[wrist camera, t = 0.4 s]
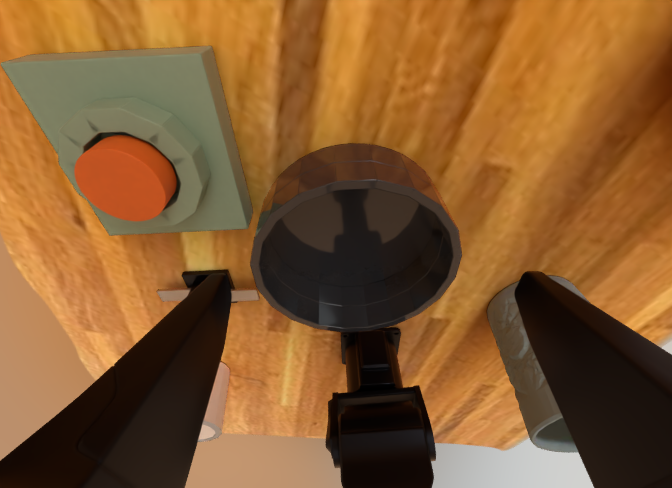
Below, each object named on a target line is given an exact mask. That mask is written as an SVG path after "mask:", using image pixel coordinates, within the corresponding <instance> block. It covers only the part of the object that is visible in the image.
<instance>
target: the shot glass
mask: <svg viewBox="0 0 672 488" xmlns="http://www.w3.org/2000/svg"><path fill="white" fill-rule="evenodd" d="M229 377H230V369H229V368H228V367H227V366H226V364H224V363H222V362H220V364H219V367H218V371H217V375H216V378H215V382H214V385H213V389H212V392H211V396H210V399H209V403H208V407H207V410H206V414H205V417H204V421H203V424H202V428H201V431H200V435H199V439H198V442H204V441H211V440H213V439H216V438H218V437H219V436H220V435H221V434H222V429H223V421H224V414H225V406H226V399H227V392H228V384H229Z"/></svg>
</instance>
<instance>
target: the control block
mask: <svg viewBox="0 0 672 488" xmlns="http://www.w3.org/2000/svg"><path fill="white" fill-rule="evenodd" d="M1 66H2V68H3V69H4V71H5V72H6V74H7V75H8V77H9V79H10V80H11V82H12V83H13V85H14V86H15V88H16V90H17V91H18V93H19V94H20V96H21V97H22V99H23V101H24V102H25V104H26V105H27V107H28V108H29V110H30V112H31V113H32V115H33V116H34V118H35V119H36V121H37V122H38V124H39V126H40V127H41V129H42V130H43V132H44V133H45V135H46V137H47V138H48V140H49V141H50V143H51V144H52V146H53V148H54V149H55V151H56V152H57V154H58V157H59V165H60V166H61V168H62V169H63V171H64V173H65V174H66V176H67V177H68V179H69V180H70V182H71V183H72V185H73V186H74V188H75V190H76V191H77V193H78V194H79V195H81V196H82V197H83V198H85V199H86V200H87V201H88V202H89V204H90V206H91V207H92V209H93V210H94V212H95V213H96V215H97V217H98V218H99V220H100V221H101V223H102V224H103V226H104V228H105V229H106V231H107V232H108V234H109V235H132V234H152V233H173V232H194V231H215V230H236V229H248V227H249V224H250V221H251V217H252V214H253V209H252V205H251V201H250V197H249V193H248V189H247V185H246V181H245V177H244V173H243V169H242V165H241V161H240V157H239V153H238V149H237V145H236V141H235V137H234V133H233V129H232V124H231V120H230V116H229V112H228V108H227V104H226V100H225V96H224V92H223V88H222V84H221V80H220V76H219V72H218V68H217V64H216V60H215V56H214V52H213V48H212V46H197V47H176V48H156V49H135V50H115V51H94V52H74V53H53V54H33V55H27V56H24V57H20V58H16V59H13V60H9V61H6V62H2V63H1ZM114 135H126V136H131V137H135V138H138V139H141V140H143V141H145V142H147V143H149V144H151V145H152V146H154V147H155V148H156V149H158V150H159V151H160V152H161V153H162V154H163V155H164V156H165V157H166V158H167V159H168V161H169V162H170V164H171V165H172V167H173V169H174V172H175V175H176V180H177V185H176V190H175V192H174V194H173V196H172V197H171V199H170V200H169V202H168V203H167V205H166V206H165V208H164V209H163V211H162V212H161V213H160V214H159V215H158V216H156V217H154V218H152V219H150V220H146V221H128V220H123V219H120V218H117V217H114V216H111V215H109V214H107V213H105V212H104V211H102V210H100V209H99V208H97V207H96V206H95V205H94V204H92V203H91V202H90V201H89V200H88V199H87V198H86V197H85V196H84V194H83V193H82V192H81V190H80V188H79V187H78V185H77V182H76V179H75V174H74V169H75V164H76V161H77V160H78V158H79V157H80V156H81V155H82V154H83V153H85V152H86V151H87V150H89V149H90V148H91V147H93V146H94V145H95V144H97V143H98V142H99V141H101V140H102V139H104V138H106V137H109V136H114Z"/></svg>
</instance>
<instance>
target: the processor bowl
mask: <svg viewBox="0 0 672 488" xmlns="http://www.w3.org/2000/svg"><path fill="white" fill-rule="evenodd" d="M461 257H462V250H461V243H460V237H459V230H458V228H457V226H456V224H455V222H454V220H453V218H452V216H451V215H450V213H449V211H448V209H447V207H446V205H445V203H444V201H443V199H442V197H441V196H440V194H439V192H438V190H437V189H436V187H435V186H434V184H433V183H432V181H431V179H430V178H429V176H428V175H427V174H426V172H425V171H424V170H423V169H422V168H421V167H420V166H418V165H417V164H416V163H415V162H414V161H412V160H411V159H409V158H408V157H406V156H404V155H403V154H401V153H398V152H396V151H394V150H391V149H388V148H385V147H381V146H377V145H370V144H353V143H350V144H341V145H335V146H331V147H326V148H323V149H320V150H317V151H315V152H312V153H310V154H308V155H306V156H304V157H302V158H300V159H299V160H297V161H296V162H295V163H293V164H292V165H290V166H289V167H288V168H287V169H286V170H285V171H284V172H283V173H282V174H281V175H280V176H279V177H278V178H277V180H276V181H275V182H274V184H273V185H272V187H271V189H270V190H269V192H268V194H267V196H266V198H265V200H264V203H263V206H262V210H261V214H260V218H259V222H258V226H257V229H256V233H255V237H254V241H253V248H252V255H251V261H250V266H251V270H252V273H253V277H254V280H255V283H256V287H257V289H258V290H259V291H260V292H261V294H262V295H263V296H264V297H265V299H266V300H267V301H268V303H269V304H270V305H271V306H272V307H273V308H275V309H276V310H278V311H279V312H281V313H282V314H284V315H285V316H287V317H288V318H290V319H291V320H294V321H297V322H299V323H302V324H305V325H308V326H310V327H313V328H317V329H323V330H330V331H337V332H359V331H371V330H376V329H380V328H384V327H388V326H393V325H396V324H398V323H401V322H403V321H405V320H407V319H409V318H412V317H414V316H416V315H418V314H419V313H421V312H423V311H424V310H425V309H427V308H428V307H429V306H431V305H432V304H433V303H434V302H436V301H437V300H438V299H440V298H441V296H442V295H443V294H444V292H445V291H446V290H447V288H448V287H449V286H450V284H451V283H452V282H453V280H454V279H455V277H456V274H457V270H458V267H459V264H460V260H461Z"/></svg>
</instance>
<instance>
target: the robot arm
mask: <svg viewBox="0 0 672 488" xmlns="http://www.w3.org/2000/svg"><path fill="white" fill-rule="evenodd" d="M514 296H515V300H516V303H517V306H518V309H519V312H520V315H521V318H522V322H523V325H524V328H525V331H526V334H527V337H528V339H529V342H530V345H531V347H532V349H533V352H534V354H535V356H536V358H537V361H538V363H539V365H540V367H541V370H542V372H543V374H544V376H545V378H546V381H547V383H548V385H549V387H550V390H551V392H552V394H553V396H554V399H555V401H556V403H557V405H558V408H559V410H560V412H561V414H562V416H563V419H564V421H565V423H566V425H567V428H568V430H569V432H570V434H571V437H572V439H573V441H574V443H575V446H576V448H577V450H578V452H579V454H580V457H581V459H582V461H583V463H584V466H585V468H586V470H587V472H588V475H589V477H590V479H591V481H592V484H593V486H594V488H672V355H671V354H670V353H668V352H666V351H665V350H663V349H662V348H660V347H659V346H657V345H655V344H654V343H652V342H651V341H649V340H648V339H646V338H644V337H643V336H641V335H640V334H638V333H637V332H635V331H633V330H632V329H630V328H629V327H627V326H626V325H624V324H622V323H621V322H619V321H618V320H616V319H614V318H613V317H611V316H610V315H608V314H607V313H605V312H603V311H602V310H600V309H599V308H597V307H596V306H594V305H592V304H591V303H589V302H588V301H586V300H585V299H583V298H581V297H580V296H578V295H577V294H575V293H574V292H572V291H570V290H569V289H567V288H566V287H564V286H563V285H561V284H559V283H558V282H556V281H555V280H553V279H551V278H550V277H548V276H547V275H545V274H544V273H542V272H539V271H527V272H525V273H524V274H523V275H522V277H521V279H520V281H519V283H518V285H517V286H516V288H515V291H514ZM231 301H232V293H231V289H230V285H229V282H228V278H227V276H226V274H223V273H219V274H211V275H209V276H208V277H207V278H206V279H205V280H204V281H203V282H202V283H201V284H200V285H198V286H197V287H196V288H195V289H194V290H193V291H192V292H191V293H190V294H189V295H188V296H187V297H186V298H185V299H183V300H182V301H181V302H180V303H179V304H178V305H177V306H176V307H175V308H174V309H173V310H172V311H171V312H170V313H169V314H167V315H166V316H165V317H164V318H163V319H162V320H161V321H160V322H159V323H158V324H157V325H156V326H155V327H154V328H152V329H151V330H150V331H149V332H148V333H147V334H146V335H145V336H144V337H143V338H142V339H141V340H140V341H139V342H137V343H136V344H135V345H134V346H133V347H132V348H131V349H130V350H129V351H128V352H127V353H126V354H125V355H124V356H122V357H121V358H120V359H119V360H118V361H117V362H116V363H115V364H114V366H112V367H111V368H109V369H108V370H107V371H106V372H105V373H104V374H103V375H102V376H101V377H100V378H99V379H98V380H97V381H95V382H94V383H93V384H92V385H91V386H90V387H89V388H88V389H87V390H85V391H84V392H83V393H82V394H81V395H80V396H79V397H78V398H76V399H75V400H74V401H73V402H72V403H70V404H69V405H68V406H67V407H66V408H64V409H63V410H62V411H61V412H60V413H59V414H57V415H56V416H55V417H54V418H52V419H51V420H50V421H49V422H48V423H46V424H45V425H44V426H43V427H42V428H40V429H39V430H38V431H36V432H35V433H34V434H33V435H31V436H30V437H29V438H28V439H27V440H25V441H24V442H23V443H22V444H20V445H19V446H18V447H17V448H16V449H14V450H13V451H12V452H10V454H8V455H7V456H6V457H4V458H3V459H2V460H1V461H0V488H185V485H186V481H187V477H188V474H189V470H190V467H191V463H192V460H193V456H194V453H195V449H196V446H197V442H198V439H199V435H200V431H201V428H202V424H203V421H204V417H205V414H206V410H207V407H208V403H209V399H210V396H211V392H212V389H213V385H214V382H215V378H216V375H217V371H218V367H219V364H220V360H221V357H222V353H223V349H224V345H225V339H226V333H227V326H228V320H229V313H230V307H231ZM400 336H401V331H400V329H399V328H380V329H376V330H371V331H359V332H341V348H342V363H343V364H345V365H346V374H347V393H338V392H336V393H333V398H332V400H330V401H328V426H327V435H326V448H327V449H328V450H329V451H330V453H331V455H332V458H333V461H334V466H335V468H341V482H342V486H343V488H432V484H433V479H434V475H433V469H432V464H431V461H435V460H436V451H435V443H434V437H433V432H432V428H431V424H430V420H429V417H428V414H427V410H426V407H425V404H424V400H423V397H422V394H421V390H420V387H419V385H418V386H413V387H406V388H403V384H402V379H401V373H400V368H399V363H398V358H397V354H398V348H399V342H400Z"/></svg>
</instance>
